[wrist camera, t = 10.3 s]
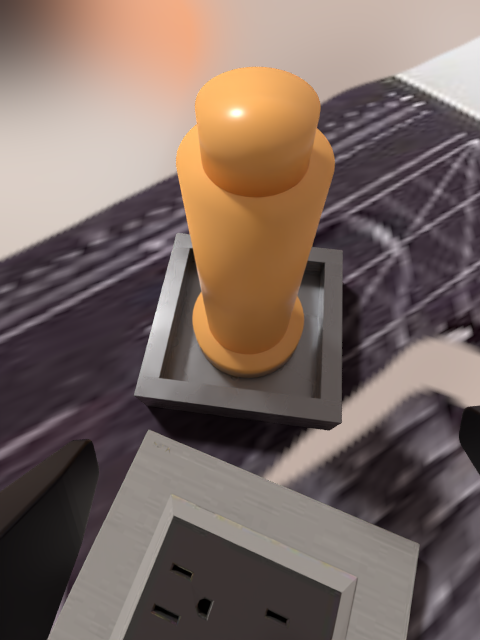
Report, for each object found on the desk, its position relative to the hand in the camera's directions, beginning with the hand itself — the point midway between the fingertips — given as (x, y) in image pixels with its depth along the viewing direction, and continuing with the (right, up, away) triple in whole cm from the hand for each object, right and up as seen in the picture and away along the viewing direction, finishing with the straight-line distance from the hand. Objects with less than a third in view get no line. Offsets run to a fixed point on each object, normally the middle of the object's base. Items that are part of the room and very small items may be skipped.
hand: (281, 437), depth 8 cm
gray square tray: (0, +2, +13) cm, 13 cm away
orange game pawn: (-1, +2, +12) cm, 12 cm away
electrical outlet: (-1, -10, +8) cm, 13 cm away
